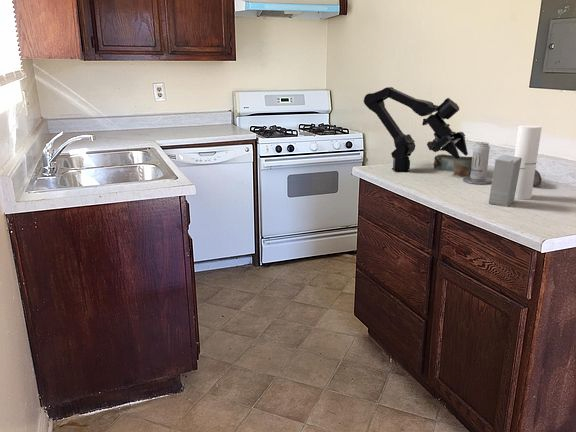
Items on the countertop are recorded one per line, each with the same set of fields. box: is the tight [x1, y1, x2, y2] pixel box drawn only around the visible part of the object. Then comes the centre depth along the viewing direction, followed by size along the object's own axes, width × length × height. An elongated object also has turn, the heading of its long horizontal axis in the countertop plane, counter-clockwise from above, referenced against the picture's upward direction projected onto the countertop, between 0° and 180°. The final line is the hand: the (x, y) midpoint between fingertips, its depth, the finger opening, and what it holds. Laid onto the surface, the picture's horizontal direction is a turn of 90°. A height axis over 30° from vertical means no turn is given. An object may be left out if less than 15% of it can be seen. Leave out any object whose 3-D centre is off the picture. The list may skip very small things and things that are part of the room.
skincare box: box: [488, 154, 522, 207], centre depth 163 cm, size 8×7×16 cm
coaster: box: [462, 176, 492, 186], centre depth 195 cm, size 11×11×1 cm
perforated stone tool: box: [533, 168, 542, 188], centre depth 189 cm, size 15×5×7 cm, turn 2°
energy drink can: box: [469, 141, 491, 182], centre depth 193 cm, size 6×6×15 cm
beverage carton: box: [433, 153, 472, 174], centre depth 215 cm, size 8×19×7 cm, turn 50°
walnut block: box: [453, 165, 469, 177], centre depth 206 cm, size 4×4×4 cm
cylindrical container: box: [513, 124, 542, 201], centre depth 169 cm, size 7×7×25 cm
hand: (462, 156), depth 197 cm, fingers open, 9 cm apart
